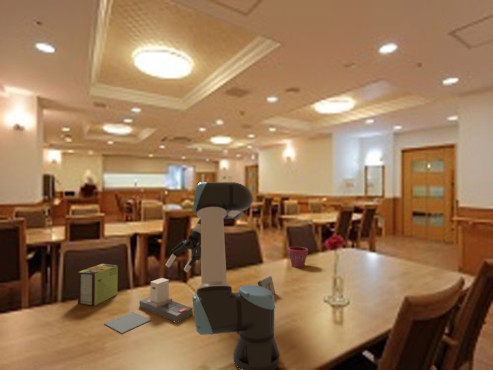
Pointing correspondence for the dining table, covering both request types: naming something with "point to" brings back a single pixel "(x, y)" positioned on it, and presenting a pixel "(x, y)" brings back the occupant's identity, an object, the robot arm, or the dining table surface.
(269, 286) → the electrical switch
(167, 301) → the power strip
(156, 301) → the charger
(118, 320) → the mat
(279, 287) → the dining table surface
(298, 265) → the plant pot
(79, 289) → the protein box
